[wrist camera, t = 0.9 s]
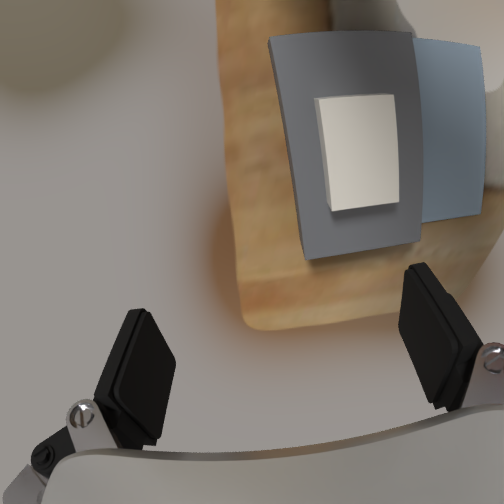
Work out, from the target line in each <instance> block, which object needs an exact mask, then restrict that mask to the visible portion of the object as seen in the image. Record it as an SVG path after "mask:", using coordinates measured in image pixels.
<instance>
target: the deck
mask: <svg viewBox="0 0 504 504" xmlns="http://www.w3.org/2000/svg"><path fill="white" fill-rule="evenodd" d="M268 48H269V53H270V58H271V63H272V68H273V73H274V78H275V83H276V89H277V94H278V99H279V105H280V110H281V116H282V122H283V128H284V133H285V139H286V146H287V152H288V158H289V164H290V171H291V177H292V184H293V191H294V198H295V205H296V212H297V219H298V227H299V235H300V241H301V245H302V249H303V253H304V257H305V260H309V259H316V258H322V257H328V256H334V255H341V254H347V253H353V252H359V251H365V250H371V249H377V248H383V247H389V246H395V245H401V244H407V243H412V242H418V241H420V237H421V224H422V207H423V128H422V112H421V99H420V89H419V80H418V71H417V64H416V57H415V51H414V44H413V39H412V33H411V32H396V31H325V32H310V33H299V34H289V35H280V36H273V37H269V40H268ZM377 93H386V94H393V95H394V101H395V112H396V124H397V139H398V160H399V202H395V203H387V204H380V205H373V206H365V207H358V208H351V209H344V210H337V211H331V209H330V207H329V205H328V203H327V198H326V188H325V178H324V169H323V161H322V153H321V145H320V137H319V130H318V123H317V116H316V109H315V103H314V98H321V97H331V96H343V95H357V94H377Z"/></svg>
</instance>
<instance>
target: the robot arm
mask: <svg viewBox="0 0 504 504" xmlns="http://www.w3.org/2000/svg"><path fill="white" fill-rule="evenodd" d="M398 325H399V326H398V327H399V332H400V335H401V337H402V339H403V341H404V343H405V346H406V348H407V351H408V353H409V355H410V358H411V360H412V362H413V365H414V367H415V370H416V372H417V375H418V377H419V380H420V382H421V385H422V387H423V390H424V392H425V395H426V398H427V400H428V402H429V403H433V405H434V407H435V409H439V408H442V407H446V410H447V411H448V413H444V414H441V415H438V416H434V417H431V418H428V419H425V420H421V421H418V422H415V423H411V424H407V425H404V426H400V427H396V428H392V429H389V430H385V431H381V432H377V433H372V434H368V435H363V436H359V437H354V438H349V439H344V440H339V441H333V442H327V443H321V444H314V445H307V446H300V447H292V448H283V449H273V450H261V451H245V452H221V453H189V452H163V451H145V450H142V449H143V445H151V446H156V442H157V439H159V438H160V437H161V434H162V429H163V424H164V419H165V414H166V409H167V404H168V400H169V395H170V390H171V385H172V381H173V377H174V372H175V368H176V361H175V358H174V356H173V354H172V352H171V350H170V349H169V347H168V345H167V343H166V341H165V339H164V337H163V336H162V334H161V332H160V330H159V328H158V326H157V324H156V323H155V321H154V319H153V317H152V315H151V313H150V312H147V311H146V310H145V309H143V308H142V309H133V310H129V311H128V313H127V315H126V318H125V320H124V322H123V324H122V327H121V329H120V331H119V334H118V336H117V338H116V341H115V343H114V345H113V348H112V350H111V352H110V355H109V357H108V360H107V362H106V365H105V367H104V370H103V372H102V375H101V377H100V380H99V382H98V385H97V388H96V390H95V393H94V396H95V397H94V399H93V401H92V400H90V399H83V400H80V401H78V402H76V403H75V404H74V405H73V406H72V407H71V408H70V409H69V411H68V413H67V417H66V423H67V426H66V427H64V428H62V429H61V430H59V431H58V432H56V433H55V434H53V435H52V436H51V437H49V438H47V439H46V440H44V441H43V442H41V443H40V444H39V445H37V446H36V447H35V449H34V450H33V452H32V455H31V464H32V465H31V466H30V465H28V464H27V465H26V467H25V468H24V469H23V470H22V471H21V472H20V473H19V475H18V476H17V477H16V478H15V479H14V481H13V482H12V483H11V484H10V485H9V486H8V487H7V489H6V490H5V492H4V494H3V504H504V345H503V344H500V343H495V342H493V343H487V344H485V345H483V343H482V341H481V339H480V338H479V336H478V335H477V333H476V331H475V330H474V328H473V327H472V325H471V323H470V322H469V320H468V319H467V317H466V316H465V314H464V313H463V311H462V310H461V308H460V307H459V305H458V304H457V302H456V301H455V299H454V298H453V297H452V295H451V294H449V293H447V292H446V291H445V289H444V288H443V286H442V285H441V284H440V282H439V281H438V279H437V278H436V277H435V275H434V274H433V272H432V271H431V270H430V268H429V267H428V266H427V264H426V263H424V262H422V263H417V264H412V265H410V266H409V268H408V270H405V273H404V282H403V292H402V301H401V309H400V316H399V324H398Z"/></svg>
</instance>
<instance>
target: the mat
mask: <svg viewBox="0 0 504 504" xmlns="http://www.w3.org/2000/svg"><path fill="white" fill-rule="evenodd" d="M412 39H413V44H414V51H415V57H416V64H417V71H418V80H419V89H420V99H421V112H422V128H423V207H422V223H425V222H431V221H438V220H444V219H451V218H457V217H464V216H471V215H477V214H481V207H482V198H483V188H484V176H485V158H486V105H485V88H484V77H483V67H482V58H481V52H480V47H478V46H473V45H467V44H461V43H455V42H448V41H440V40H432V39H422V38H412Z"/></svg>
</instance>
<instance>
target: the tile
mask: <svg viewBox="0 0 504 504" xmlns="http://www.w3.org/2000/svg"><path fill="white" fill-rule="evenodd" d="M314 103H315V109H316V116H317V123H318V130H319V137H320V145H321V153H322V161H323V169H324V178H325V188H326V198H327V203H328V205H329V207H330V209H331V211H337V210H344V209H351V208H358V207H365V206H373V205H380V204H387V203H395V202H399V160H398V139H397V124H396V112H395V101H394V95H393V94H386V93H377V94H357V95H343V96H331V97H321V98H314Z"/></svg>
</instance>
